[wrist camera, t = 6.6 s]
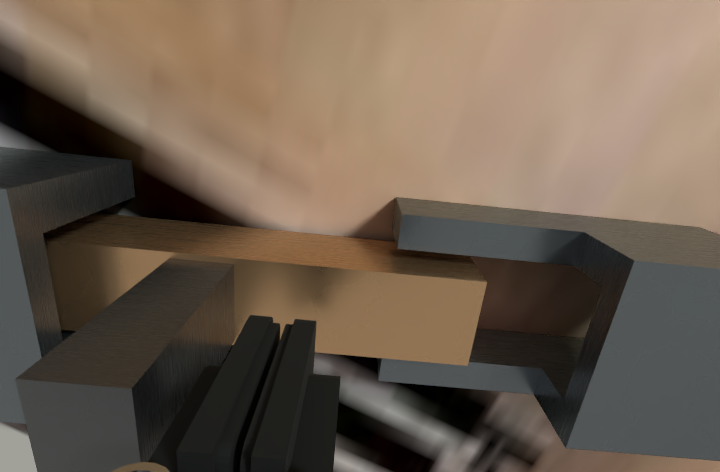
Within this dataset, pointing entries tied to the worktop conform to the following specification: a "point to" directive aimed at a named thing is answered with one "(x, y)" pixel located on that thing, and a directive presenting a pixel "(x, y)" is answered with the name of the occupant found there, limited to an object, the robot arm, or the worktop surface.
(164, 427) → the sliding bolt with handle
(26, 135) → the worktop surface
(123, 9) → the worktop surface
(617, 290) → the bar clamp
